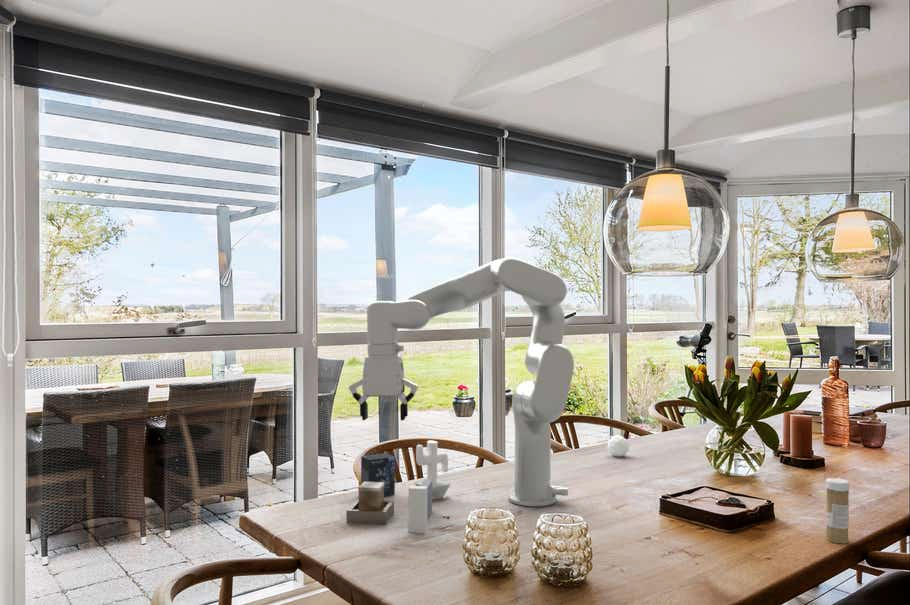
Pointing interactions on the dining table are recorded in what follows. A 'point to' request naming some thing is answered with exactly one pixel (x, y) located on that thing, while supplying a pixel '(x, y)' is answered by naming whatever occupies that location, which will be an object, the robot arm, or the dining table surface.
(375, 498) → the stop block
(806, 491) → the dining table surface
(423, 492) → the grey upright block
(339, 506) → the dining table surface
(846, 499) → the sprinkles bottle
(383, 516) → the tray
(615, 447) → the ornament
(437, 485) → the figurine
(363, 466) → the box
